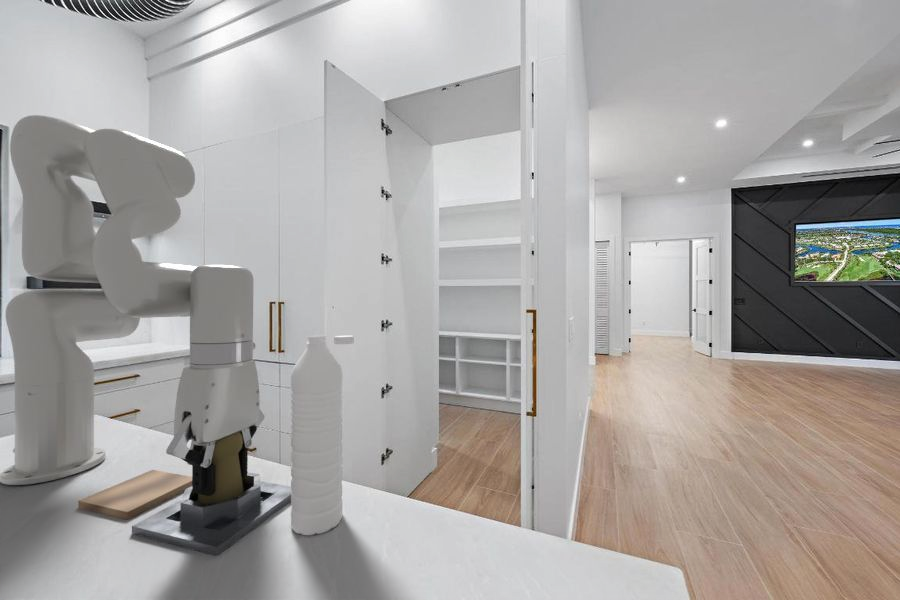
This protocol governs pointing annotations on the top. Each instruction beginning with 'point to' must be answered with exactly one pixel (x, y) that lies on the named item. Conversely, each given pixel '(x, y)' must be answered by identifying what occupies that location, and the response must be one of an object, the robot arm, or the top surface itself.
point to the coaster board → (136, 494)
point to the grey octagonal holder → (215, 517)
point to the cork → (226, 469)
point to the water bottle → (316, 438)
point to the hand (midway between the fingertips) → (221, 482)
